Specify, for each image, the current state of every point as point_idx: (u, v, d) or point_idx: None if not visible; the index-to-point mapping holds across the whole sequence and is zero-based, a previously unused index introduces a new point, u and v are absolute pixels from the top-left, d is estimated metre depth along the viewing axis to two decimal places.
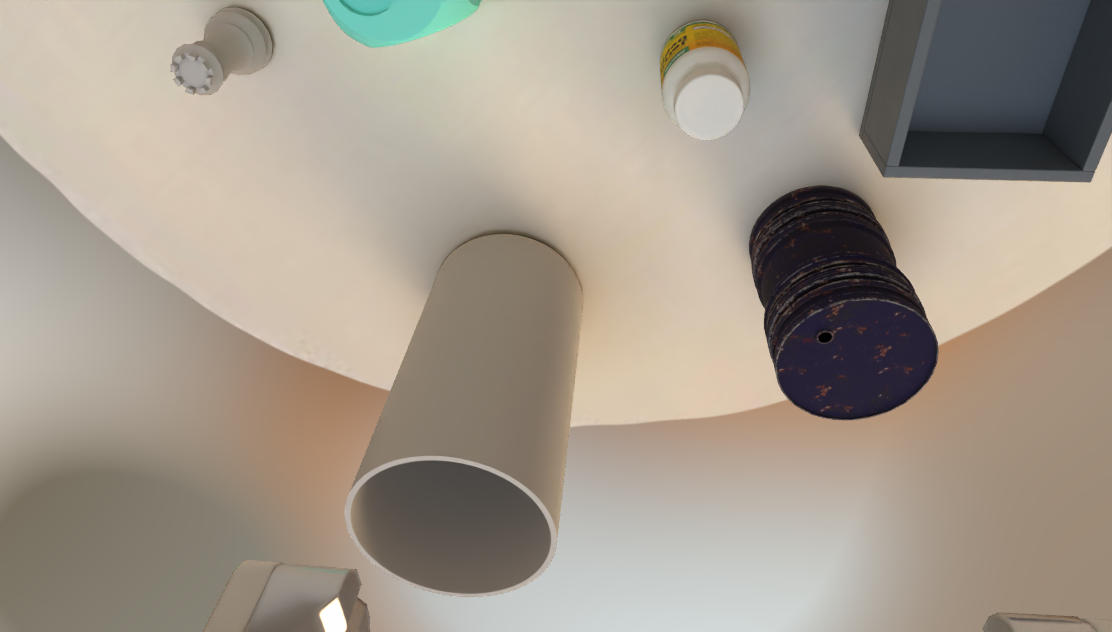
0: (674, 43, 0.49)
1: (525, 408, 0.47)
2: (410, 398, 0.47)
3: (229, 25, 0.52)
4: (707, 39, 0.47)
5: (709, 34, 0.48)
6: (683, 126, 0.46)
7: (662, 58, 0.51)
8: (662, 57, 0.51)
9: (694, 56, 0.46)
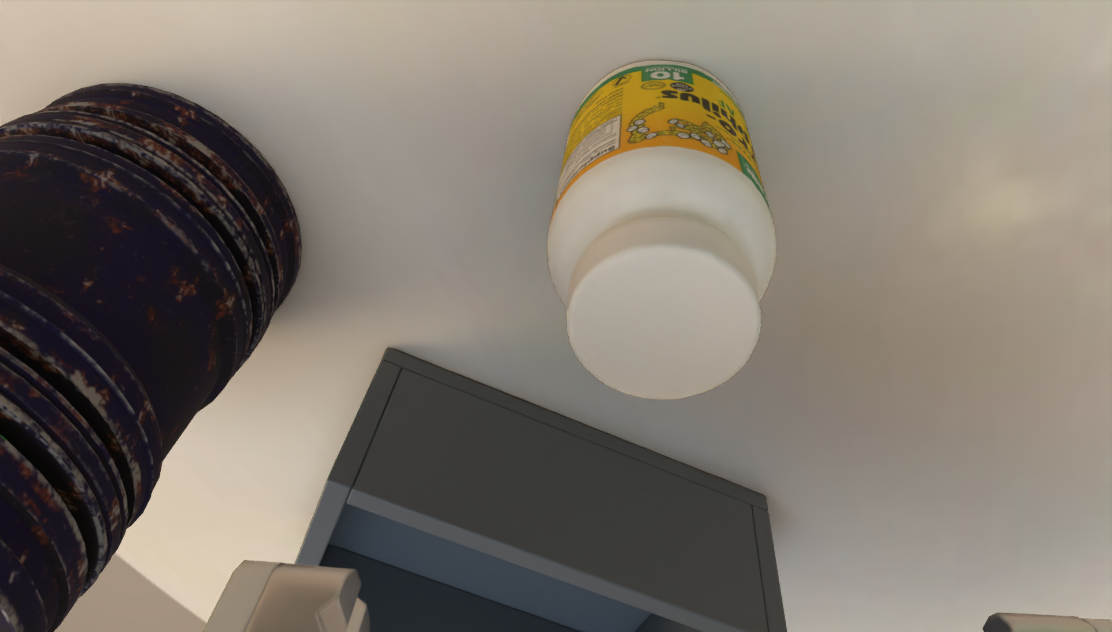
0: (754, 155, 0.20)
1: None
2: None
3: None
4: None
5: None
6: (645, 256, 0.15)
7: (726, 104, 0.20)
8: (726, 102, 0.21)
9: (769, 275, 0.18)
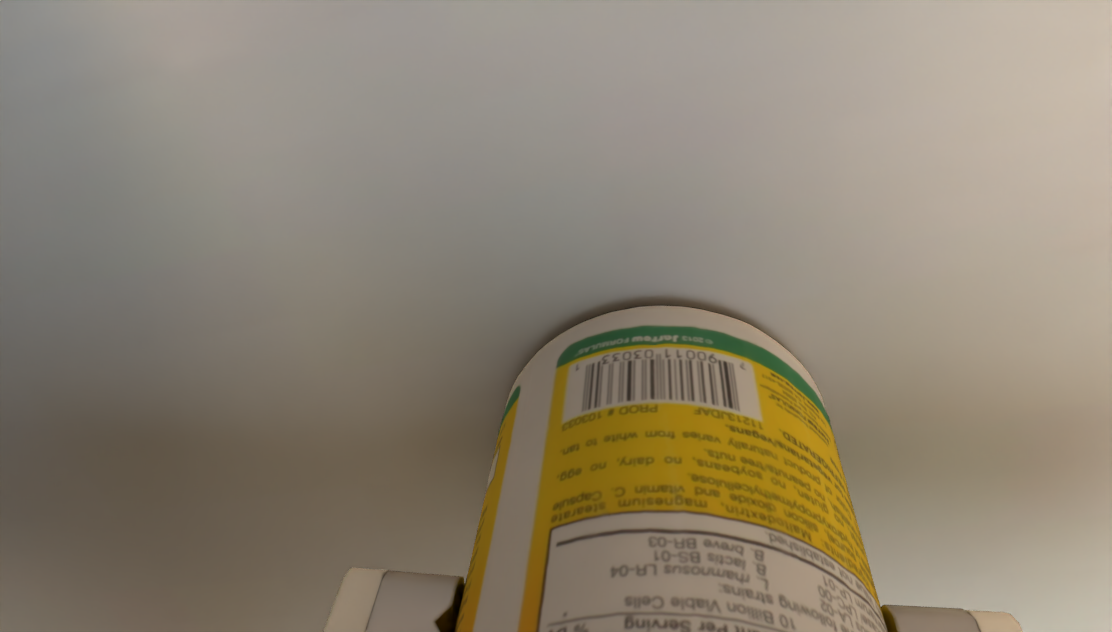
0: None
1: None
2: None
3: None
4: None
5: None
6: None
7: None
8: None
9: None
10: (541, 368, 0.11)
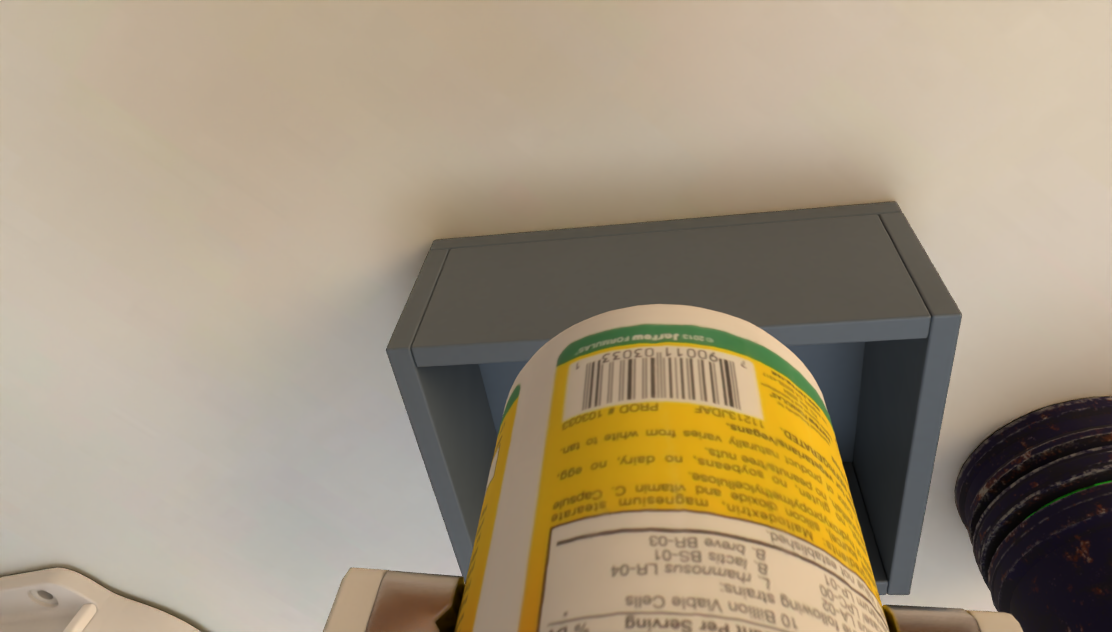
0: None
1: None
2: None
3: None
4: None
5: None
6: None
7: None
8: None
9: None
10: (541, 366, 0.11)
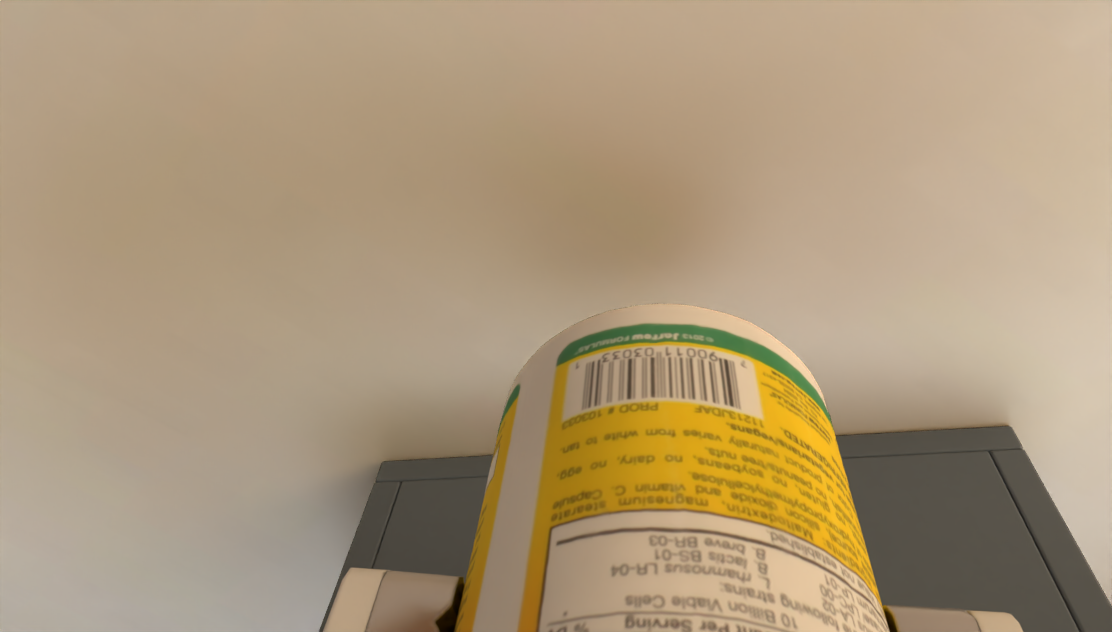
0: None
1: None
2: None
3: None
4: None
5: None
6: None
7: None
8: None
9: None
10: (541, 366, 0.11)
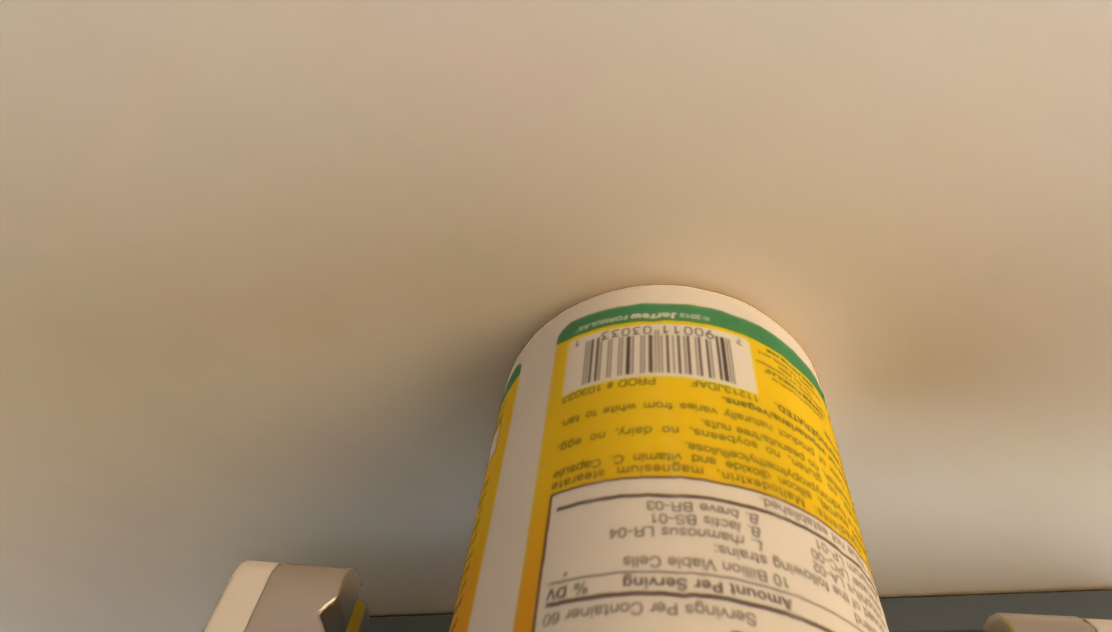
0: None
1: None
2: None
3: None
4: None
5: None
6: None
7: None
8: None
9: None
10: (542, 345, 0.12)
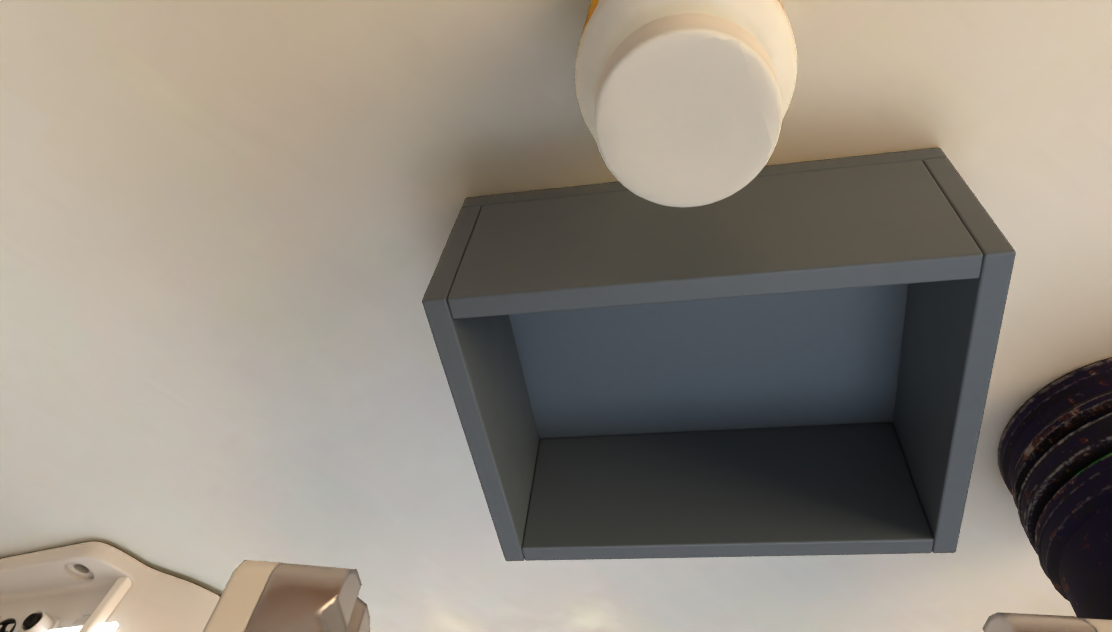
0: None
1: None
2: None
3: None
4: None
5: None
6: (773, 114, 0.16)
7: None
8: None
9: None
10: None
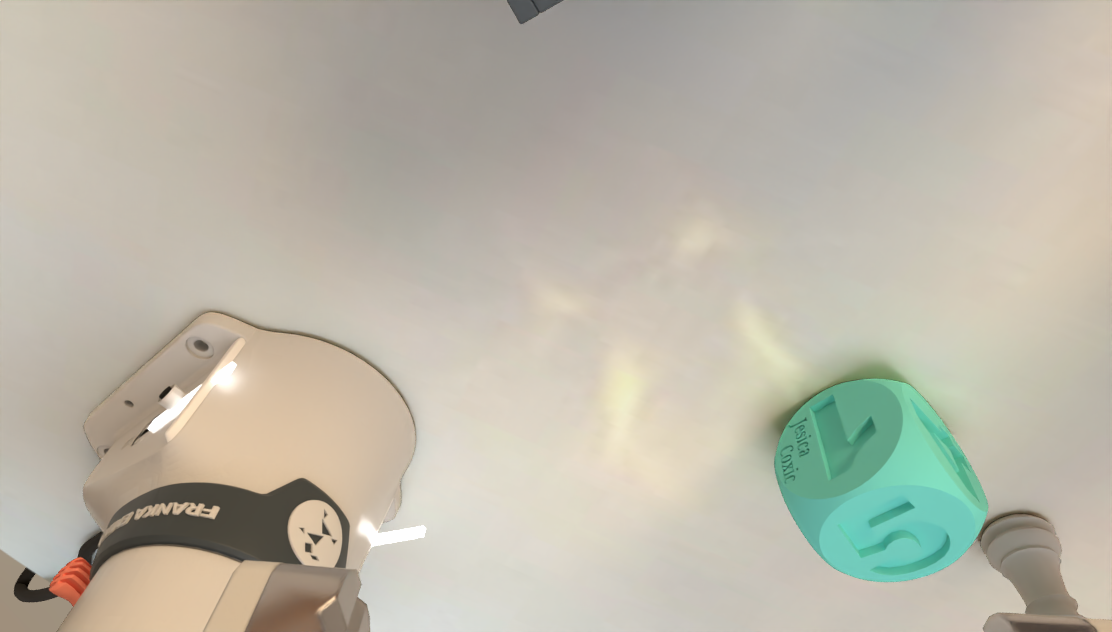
0: None
1: None
2: None
3: (1002, 568, 0.48)
4: None
5: None
6: None
7: None
8: None
9: None
10: None
